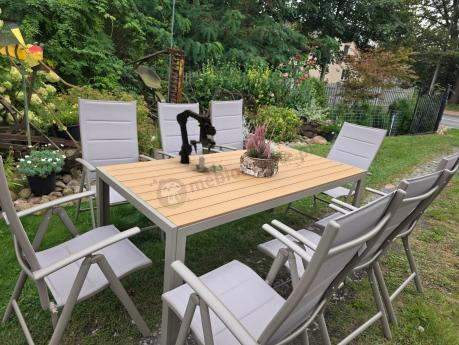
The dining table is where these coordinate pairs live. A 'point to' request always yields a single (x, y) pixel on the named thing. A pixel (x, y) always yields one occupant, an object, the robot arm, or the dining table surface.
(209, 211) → the dining table surface
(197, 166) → the frame
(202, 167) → the long rectangular block
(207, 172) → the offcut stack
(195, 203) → the dining table surface
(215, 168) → the holder
